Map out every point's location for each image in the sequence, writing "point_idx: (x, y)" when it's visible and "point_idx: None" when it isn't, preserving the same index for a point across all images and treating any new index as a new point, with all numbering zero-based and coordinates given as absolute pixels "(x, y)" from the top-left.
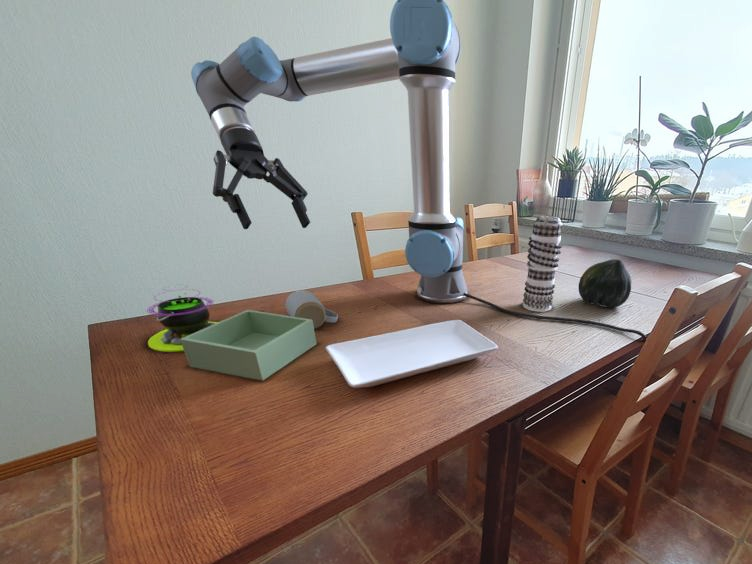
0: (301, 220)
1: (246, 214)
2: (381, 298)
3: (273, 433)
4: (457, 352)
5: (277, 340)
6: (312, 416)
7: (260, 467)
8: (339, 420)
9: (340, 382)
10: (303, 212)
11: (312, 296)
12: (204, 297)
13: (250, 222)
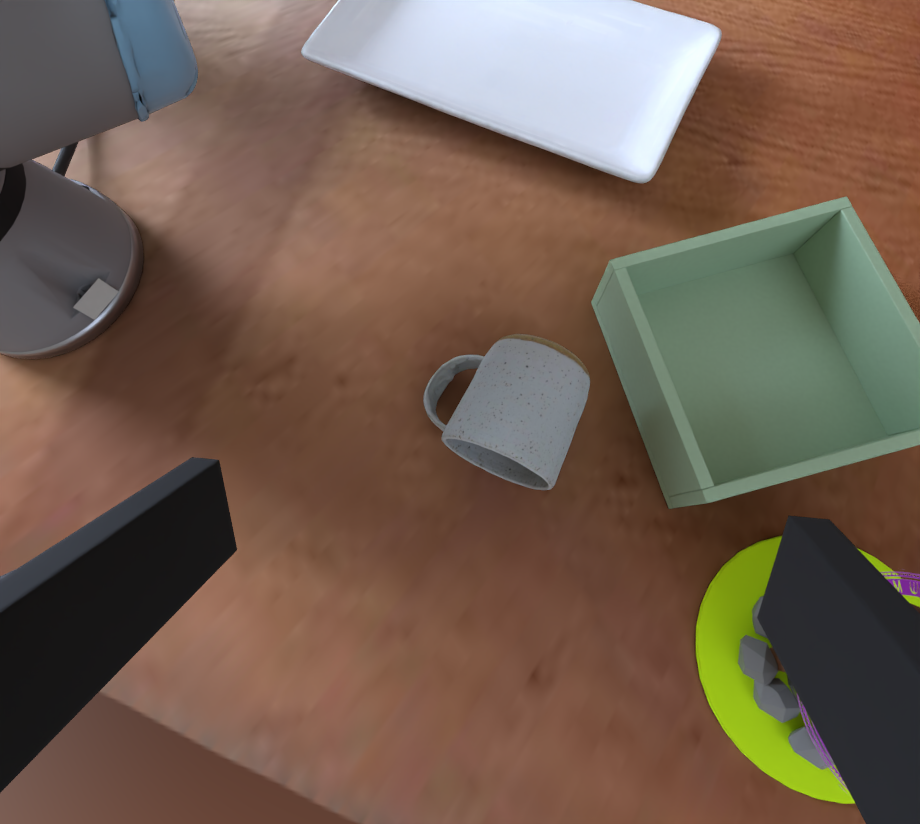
0: (192, 561)
1: (858, 581)
2: (185, 420)
3: (862, 94)
4: (437, 12)
5: (765, 219)
6: (787, 84)
7: (914, 48)
8: (760, 46)
9: (677, 128)
10: (130, 517)
11: (493, 387)
12: (808, 731)
13: (802, 517)
